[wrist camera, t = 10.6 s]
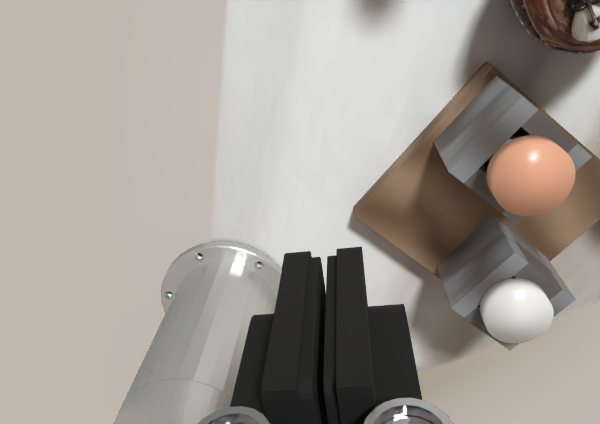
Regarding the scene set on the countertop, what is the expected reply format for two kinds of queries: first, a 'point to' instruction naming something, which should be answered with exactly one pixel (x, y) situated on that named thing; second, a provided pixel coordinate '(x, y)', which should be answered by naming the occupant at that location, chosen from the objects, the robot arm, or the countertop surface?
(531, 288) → the white round part
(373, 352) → the robot arm
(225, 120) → the countertop surface
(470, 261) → the board
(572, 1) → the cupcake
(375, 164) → the countertop surface
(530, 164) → the orange rounded piece
